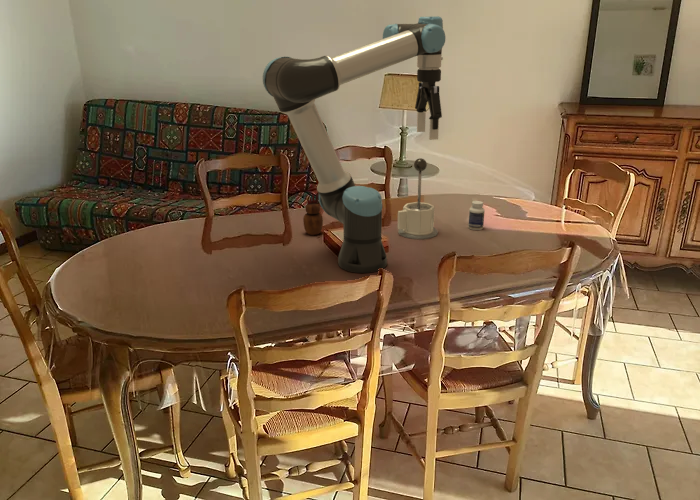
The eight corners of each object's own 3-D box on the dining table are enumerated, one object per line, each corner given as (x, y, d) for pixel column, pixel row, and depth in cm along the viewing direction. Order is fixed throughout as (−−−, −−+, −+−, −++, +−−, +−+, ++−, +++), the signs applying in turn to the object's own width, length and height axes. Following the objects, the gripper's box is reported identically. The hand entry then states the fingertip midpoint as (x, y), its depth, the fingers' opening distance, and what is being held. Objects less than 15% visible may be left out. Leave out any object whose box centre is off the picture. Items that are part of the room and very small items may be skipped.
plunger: (414, 214, 203) (416, 161, 196) (404, 208, 209) (406, 157, 202) (432, 211, 206) (435, 159, 199) (422, 206, 212) (424, 155, 205)
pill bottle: (484, 230, 212) (486, 204, 208) (469, 230, 212) (471, 204, 208) (481, 225, 217) (483, 200, 213) (466, 225, 217) (468, 200, 213)
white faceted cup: (407, 241, 201) (408, 215, 198) (389, 229, 213) (389, 204, 210) (445, 235, 207) (446, 209, 203) (424, 223, 219) (425, 199, 215)
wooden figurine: (324, 230, 212) (322, 190, 207) (321, 236, 207) (320, 195, 202) (305, 230, 213) (303, 190, 208) (302, 236, 208) (301, 195, 202)
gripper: (454, 71, 176) (451, 142, 184) (428, 65, 199) (426, 128, 207) (430, 72, 175) (428, 143, 183) (406, 65, 198) (405, 129, 206)
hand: (427, 135), depth 195 cm, fingers open, 13 cm apart
